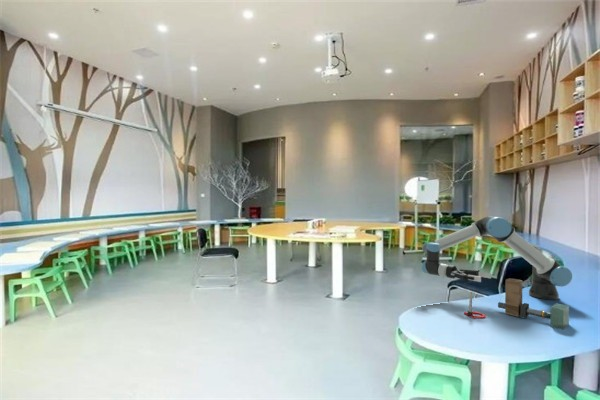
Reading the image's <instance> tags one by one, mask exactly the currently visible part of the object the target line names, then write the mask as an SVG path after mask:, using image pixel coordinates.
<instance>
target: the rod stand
mask: <svg viewBox="0 0 600 400" xmlns="http://www.w3.org/2000/svg"><path fill="white" fill-rule="evenodd" d="M497 307H498V308H499V309H502V310H503V309H504V310H505V302H501V301H499V302H498V303H497ZM519 312H520V313H521V306H519ZM526 314H529V316H530V315H531V316H534V317H539V318H542V319H548V320H549V321H550V325H549V326H550V327H551V328H555V329H560V330H565V329H566V328H567V327H568V326H569V324H570V322H569V321H570V320H569V319H570V306H569V305H566V304H561V303H554V304H553V305H552V306H550V312H548V311H545V310H538V309H533V308H531V307H529V308H526Z"/></svg>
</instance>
